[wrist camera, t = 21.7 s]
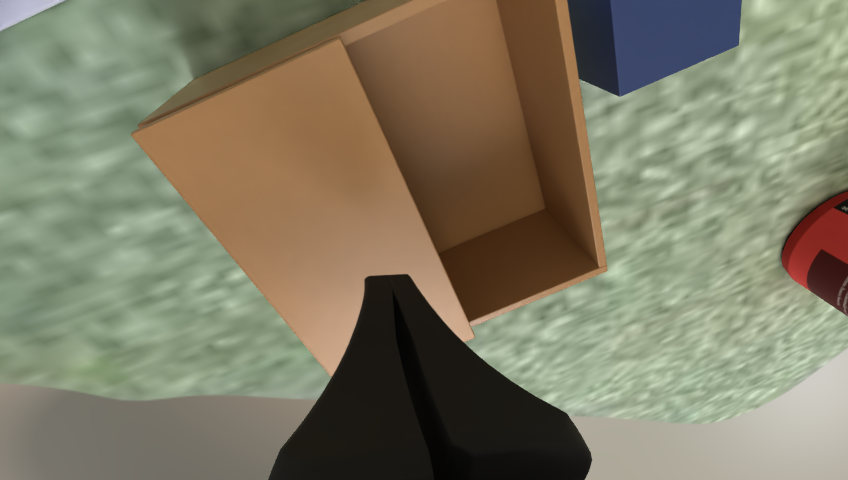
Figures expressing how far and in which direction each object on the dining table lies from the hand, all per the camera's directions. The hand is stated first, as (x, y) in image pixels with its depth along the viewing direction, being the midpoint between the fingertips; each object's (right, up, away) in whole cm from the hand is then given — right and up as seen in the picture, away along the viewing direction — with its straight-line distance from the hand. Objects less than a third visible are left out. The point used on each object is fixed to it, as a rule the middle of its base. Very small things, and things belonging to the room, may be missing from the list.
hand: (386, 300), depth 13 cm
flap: (-2, +1, +3) cm, 4 cm away
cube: (+9, +13, +6) cm, 17 cm away
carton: (0, +6, +8) cm, 11 cm away
